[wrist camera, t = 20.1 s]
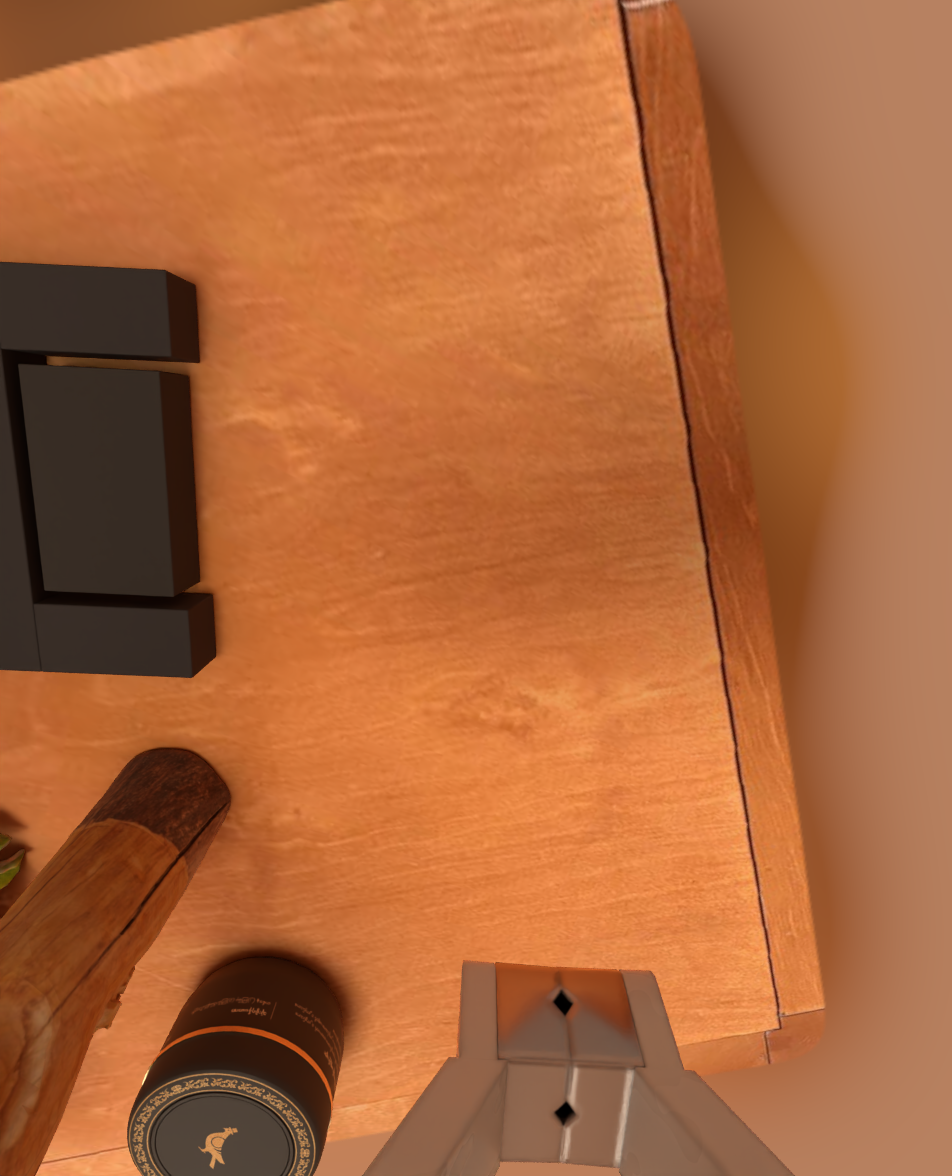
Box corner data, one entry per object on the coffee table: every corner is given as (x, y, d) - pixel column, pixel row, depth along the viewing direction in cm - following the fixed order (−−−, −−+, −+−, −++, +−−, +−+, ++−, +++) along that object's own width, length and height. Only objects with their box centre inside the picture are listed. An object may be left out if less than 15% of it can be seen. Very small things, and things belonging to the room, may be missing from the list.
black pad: (60, 369, 31) (17, 363, 28) (189, 375, 31) (159, 370, 28) (81, 576, 33) (43, 591, 30) (200, 581, 33) (174, 597, 30)
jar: (194, 1076, 41) (132, 1220, 34) (179, 943, 39) (108, 1067, 31) (353, 1078, 41) (326, 1223, 34) (348, 945, 39) (318, 1070, 31)
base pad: (-159, 267, 30) (-228, 250, 27) (195, 284, 30) (165, 269, 27) (-92, 643, 34) (-145, 664, 31) (216, 656, 34) (192, 678, 31)
